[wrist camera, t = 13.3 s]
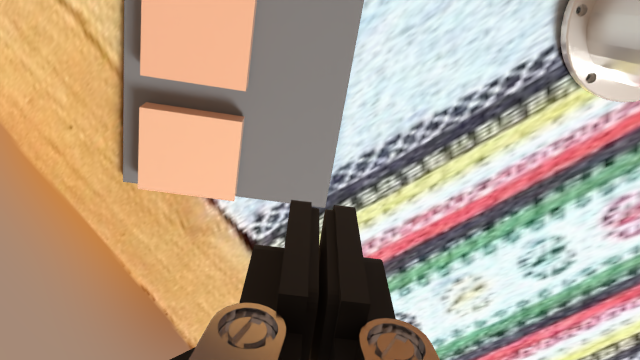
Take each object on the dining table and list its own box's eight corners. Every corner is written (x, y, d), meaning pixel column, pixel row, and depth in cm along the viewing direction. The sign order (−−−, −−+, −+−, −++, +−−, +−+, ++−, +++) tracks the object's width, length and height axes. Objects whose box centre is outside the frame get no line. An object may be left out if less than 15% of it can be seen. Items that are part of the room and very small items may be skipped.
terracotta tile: (255, -5, 33) (142, -25, 33) (245, 91, 36) (140, 75, 35) (257, -5, 35) (150, -24, 34) (248, 86, 38) (148, 70, 37)
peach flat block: (242, 122, 37) (139, 107, 36) (234, 201, 39) (137, 188, 39) (244, 115, 39) (147, 101, 38) (236, 191, 41) (145, 179, 41)
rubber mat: (362, -1, 36) (363, 0, 36) (324, 204, 43) (325, 207, 42) (127, -43, 34) (124, -43, 34) (125, 178, 41) (122, 181, 41)
